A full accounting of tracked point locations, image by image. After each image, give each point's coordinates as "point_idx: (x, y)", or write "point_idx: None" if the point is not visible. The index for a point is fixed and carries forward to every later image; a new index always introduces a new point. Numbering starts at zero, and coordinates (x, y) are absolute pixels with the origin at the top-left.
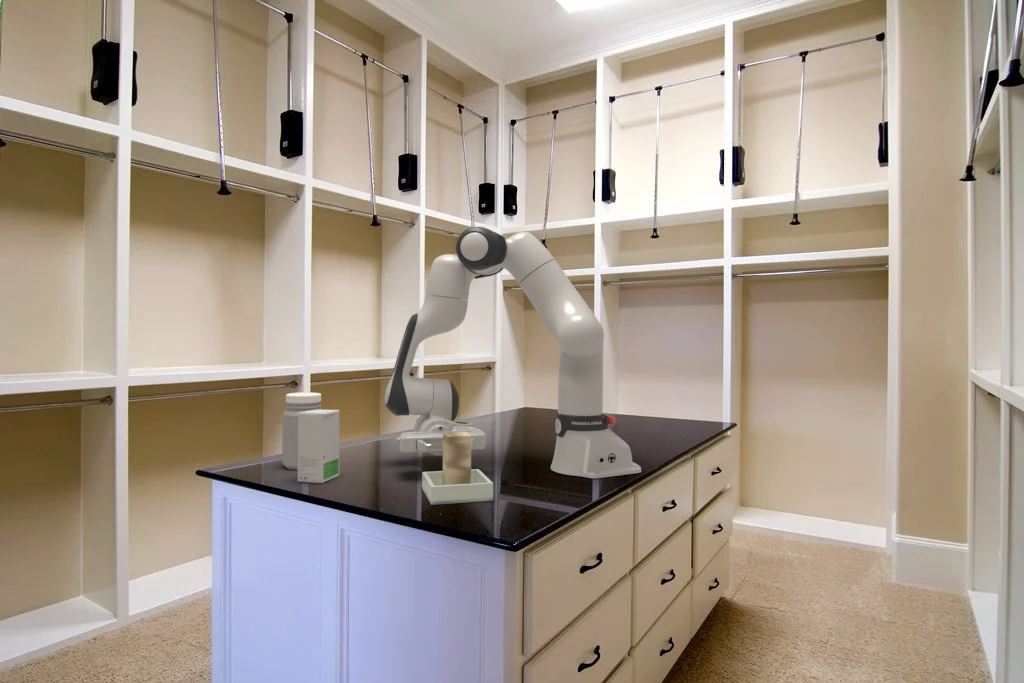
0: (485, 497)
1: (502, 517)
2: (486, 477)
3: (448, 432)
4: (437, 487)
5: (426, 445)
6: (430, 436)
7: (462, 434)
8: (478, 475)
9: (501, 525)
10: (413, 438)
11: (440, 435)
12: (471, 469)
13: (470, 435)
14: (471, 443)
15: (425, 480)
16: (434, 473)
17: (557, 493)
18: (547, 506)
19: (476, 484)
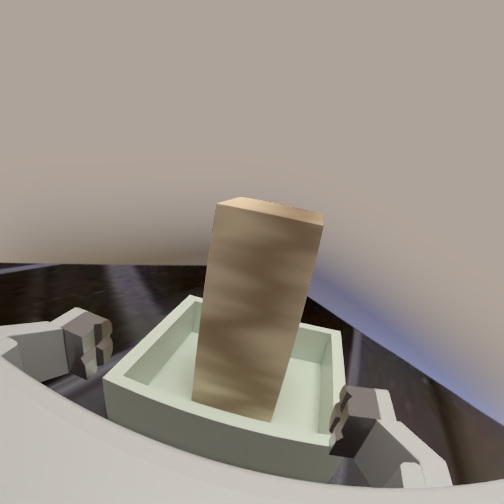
0: None
1: None
2: (167, 319)
3: (299, 219)
4: (325, 330)
5: (373, 391)
6: (336, 489)
7: (258, 203)
8: (143, 362)
9: None
10: (488, 483)
11: (198, 472)
12: (130, 388)
13: (241, 197)
14: (85, 311)
15: None
16: (297, 432)
17: (51, 292)
18: (132, 282)
19: None
